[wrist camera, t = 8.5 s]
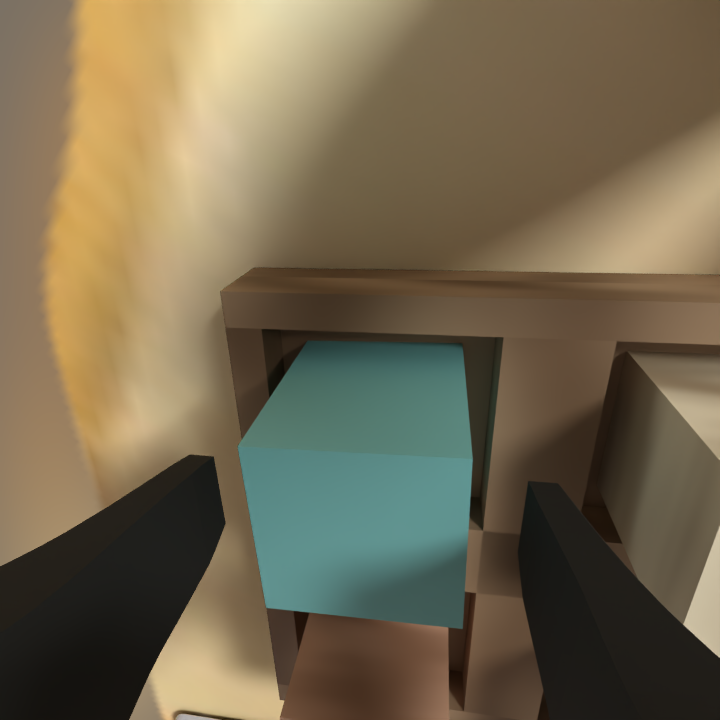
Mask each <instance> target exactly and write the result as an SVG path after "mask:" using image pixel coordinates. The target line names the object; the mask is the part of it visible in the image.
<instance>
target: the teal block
mask: <svg viewBox="0 0 720 720" xmlns="http://www.w3.org/2000/svg"><path fill="white" fill-rule="evenodd" d="M237 447H238V452H239V458H240V463H241V469H242V475H243V480H244V486H245V492H246V497H247V503H248V509H249V514H250V520H251V525H252V531H253V537H254V542H255V548H256V554H257V559H258V565H259V570H260V576H261V582H262V587H263V593H264V599H265V604H266V608H273V609H282V610H291V611H301V612H310V613H319V614H328V615H338V616H347V617H356V618H365V619H375V620H384V621H393V622H403V623H412V624H421V625H430V626H440V627H449V628H458V629H463V614H464V597H465V581H466V564H467V547H468V530H469V513H470V496H471V479H472V463H473V457H472V445H471V434H470V423H469V412H468V400H467V389H466V378H465V367H464V355H463V344H462V343H427V342H366V341H307V342H306V344H305V345H304V347H303V348H302V350H301V351H300V353H299V354H298V356H297V357H296V359H295V361H294V362H293V364H292V365H291V367H290V368H289V370H288V371H287V373H286V374H285V376H284V377H283V379H282V380H281V382H280V383H279V385H278V386H277V388H276V389H275V391H274V392H273V394H272V395H271V397H270V398H269V400H268V401H267V403H266V404H265V406H264V407H263V409H262V410H261V412H260V413H259V415H258V416H257V418H256V419H255V421H254V422H253V424H252V425H251V427H250V428H249V430H248V431H247V433H246V434H245V436H244V437H243V439H242V440H241V442H240V443H239V445H238V446H237Z"/></svg>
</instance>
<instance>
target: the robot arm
mask: <svg viewBox="0 0 720 720" xmlns="http://www.w3.org/2000/svg"><path fill="white" fill-rule="evenodd" d="M224 526H225V518H224V512H223V506H222V501H221V495H220V490H219V484H218V478H217V473H216V467H215V461H214V457H213V456H200V455H189V456H187V457H185V458H183V459H181V460H180V461H178V462H177V463H175V464H173V465H172V466H170V467H169V468H167V469H166V470H164V471H162V472H161V473H159V474H158V475H156V476H155V477H153V478H152V479H150V480H149V481H147V482H146V483H144V484H143V485H141V486H140V487H138V488H136V489H135V490H133V491H132V492H130V493H129V494H127V495H126V496H124V497H123V498H121V499H119V500H118V501H116V502H115V503H113V504H112V505H110V506H109V507H107V508H105V509H104V510H102V511H100V512H99V513H97V514H95V515H94V516H92V517H90V518H89V519H87V520H85V521H84V522H82V523H80V524H79V525H77V526H75V527H74V528H72V529H71V530H69V531H67V532H66V533H63V534H62V535H60V536H58V537H56V538H55V539H53V540H51V541H49V542H47V543H46V544H44V545H42V546H40V547H38V548H36V549H34V550H32V551H30V552H28V553H26V554H24V555H22V556H20V557H18V558H16V559H14V560H12V561H11V562H8V563H7V564H4V565H2V566H0V720H129V719H130V716H131V714H132V712H133V709H134V707H135V705H136V703H137V700H138V698H139V696H140V694H141V691H142V689H143V687H144V685H145V683H146V680H147V678H148V676H149V674H150V672H151V670H152V668H153V666H154V664H155V662H156V660H157V658H158V656H159V654H160V652H161V651H162V649H163V647H164V645H165V643H166V642H167V640H168V638H169V636H170V634H171V633H172V631H173V629H174V627H175V625H176V624H177V622H178V620H179V618H180V617H181V615H182V613H183V611H184V609H185V608H186V606H187V604H188V602H189V600H190V599H191V597H192V595H193V593H194V591H195V590H196V588H197V586H198V584H199V582H200V580H201V579H202V577H203V575H204V573H205V571H206V569H207V567H208V565H209V564H210V561H211V559H212V557H213V554H214V552H215V549H216V547H217V544H218V542H219V539H220V536H221V534H222V531H223V529H224ZM518 561H519V570H520V580H521V588H522V597H523V602H524V607H525V611H526V616H527V620H528V625H529V629H530V634H531V638H532V642H533V647H534V651H535V656H536V660H537V664H538V669H539V673H540V677H541V682H542V686H543V691H544V695H545V699H546V704H547V708H548V713H549V718H550V720H720V658H719V657H718V656H717V655H716V654H715V653H714V652H712V651H711V650H710V649H709V648H708V647H707V646H706V645H705V644H704V643H703V642H701V641H700V640H699V639H698V638H697V637H696V636H695V635H694V634H693V633H692V632H691V631H690V630H688V629H687V628H686V627H685V626H684V625H683V624H682V623H681V622H680V621H679V620H678V619H677V618H676V617H674V616H673V615H672V614H671V613H670V612H669V611H668V610H667V609H666V608H665V607H664V606H663V605H662V604H661V603H660V602H659V601H658V600H657V599H656V597H655V596H654V595H653V594H652V593H651V592H650V591H649V590H648V589H647V588H646V587H645V586H644V585H643V584H642V583H641V582H640V581H639V580H638V578H637V577H636V576H635V575H634V574H633V573H632V572H631V571H630V570H629V569H628V568H627V566H626V565H625V564H624V563H623V562H622V561H621V559H620V558H619V557H618V556H617V555H616V554H615V553H614V551H613V550H612V549H611V548H610V547H609V546H608V544H607V543H606V542H605V541H604V540H603V539H602V537H601V536H600V535H599V534H598V533H597V531H596V530H595V529H594V528H593V526H592V525H591V524H590V523H589V521H588V520H587V519H586V518H585V516H584V515H583V514H582V513H581V511H580V510H579V509H578V508H577V506H576V505H575V504H574V502H573V501H572V500H571V499H570V497H569V496H568V495H567V493H566V492H565V491H564V490H563V488H562V487H561V486H560V485H559V484H558V483H549V482H536V481H528V486H527V492H526V499H525V506H524V513H523V519H522V526H521V533H520V539H519V546H518ZM175 720H220V719H214V718H208V717H202V716H195V715H189V714H179V715H177V717H176V719H175Z"/></svg>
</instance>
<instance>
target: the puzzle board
mask: <svg viewBox="0 0 720 720" xmlns="http://www.w3.org/2000/svg"><path fill="white" fill-rule="evenodd" d="M220 293H221V300H222V307H223V314H224V320H225V327H226V334H227V341H228V348H229V355H230V361H231V368H232V375H233V382H234V389H235V396H236V402H237V409H238V416H239V423H240V430H241V437H242V439H243V437H244V436H245V434H246V433H247V431H248V430H249V428H250V427H251V425H252V424H253V422H254V421H255V419H256V418H257V416H258V415H259V413H260V412H261V410H262V409H263V407H264V406H265V404H266V403H267V401H268V400H269V398H270V397H271V395H272V394H273V392H274V391H275V389H276V388H277V386H278V385H279V383H280V382H281V380H282V379H283V377H284V376H285V374H286V373H287V371H288V370H289V368H290V367H291V365H292V364H293V362H294V361H295V359H296V357H297V356H298V354H299V353H300V351H301V350H302V348H303V347H304V345H305V344H306V342H307V341H366V342H427V343H462V344H463V355H464V367H465V378H466V389H467V400H468V412H469V423H470V434H471V445H472V457H473V463H472V479H471V496H470V513H469V530H468V547H467V564H466V581H465V597H464V614H463V629H458V628H449V627H440V626H430V625H421V624H412V623H403V622H393V621H384V620H375V619H365V618H356V617H347V616H338V615H328V614H319V613H310V612H301V611H291V610H282V609H273V608H267V614H268V621H269V628H270V635H271V642H272V649H273V655H274V662H275V669H276V676H277V683H278V690H279V696H280V700H285V701H284V705H283V709H282V712H281V716H280V720H550V718H549V713H548V708H547V704H546V699H545V695H544V691H543V686H542V682H541V677H540V673H539V669H538V664H537V660H536V656H535V651H534V647H533V642H532V638H531V634H530V629H529V625H528V620H527V616H526V611H525V607H524V602H523V597H522V588H521V580H520V570H519V561H518V546H519V539H520V533H521V526H522V519H523V513H524V506H525V499H526V492H527V486H528V481H536V482H549V483H558V484H559V485H560V486H561V487H562V488H563V490H564V491H565V492H566V493H567V495H568V496H569V497H570V499H571V500H572V501H573V502H574V504H575V505H576V506H577V508H578V509H579V510H580V511H581V513H582V514H583V515H584V516H585V518H586V519H587V520H588V521H589V523H590V524H591V525H592V526H593V528H594V529H595V530H596V531H597V533H598V534H599V535H600V536H601V537H602V539H603V540H604V541H605V542H606V543H607V544H608V546H609V547H610V548H611V549H612V550H613V551H614V553H615V554H616V555H617V556H618V557H619V558H620V559H621V561H622V562H623V563H624V564H625V565H626V566H627V568H628V569H629V570H630V571H631V572H632V573H633V574H634V575H635V576H636V577H637V578H638V580H639V581H640V582H641V583H642V584H643V585H644V586H645V587H646V588H647V589H648V590H649V591H650V592H651V593H652V594H653V595H654V596H655V597H656V599H657V600H658V601H659V602H660V603H661V604H662V605H663V606H664V607H665V608H666V609H667V610H668V611H669V612H670V613H671V614H672V615H673V616H674V617H676V618H677V619H678V620H679V621H680V622H681V623H682V624H683V625H684V626H685V627H686V628H687V629H688V630H690V631H691V632H692V633H693V634H694V635H695V636H696V637H697V638H698V639H699V640H700V641H701V642H703V643H704V644H705V645H706V646H707V647H708V648H709V649H710V650H711V651H712V652H714V653H715V654H716V655H717V656H718V657H719V658H720V275H684V274H620V273H556V272H493V271H429V270H365V269H301V268H253V269H251V270H250V271H249V272H247V273H246V274H244V275H243V276H241V277H240V278H239V279H237V280H236V281H234V282H233V283H231V284H230V285H229V286H227V287H226V288H224V289H223V290H221V291H220Z"/></svg>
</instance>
